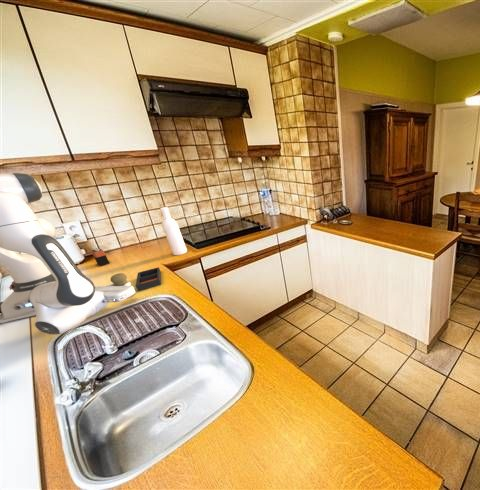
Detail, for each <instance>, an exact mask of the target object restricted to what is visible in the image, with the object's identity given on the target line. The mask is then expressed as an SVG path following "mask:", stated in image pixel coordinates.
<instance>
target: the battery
mask: <svg viewBox="0 0 480 490" xmlns="http://www.w3.org/2000/svg"><path fill="white" fill-rule="evenodd" d="M90 253H91V254H92V256H93V258H94V260H95V262H96V264H97V265H99V266H100V267H103V266H106V265H108V264H110V261H109V259H108V256H107V255H106V253H105V251H104V249H102V248H99V247H94V248H93V249H91V250H90Z"/></svg>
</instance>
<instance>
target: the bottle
mask: <svg viewBox="0 0 480 490" xmlns="http://www.w3.org/2000/svg"><path fill="white" fill-rule="evenodd" d="M159 208H160V212H161V215H162V217H163V220H162V222H161V227H162V230H163V232H164V234H165V237H166V240H167V242H168V245H169V248H170V250H171V251H170V252H171V253H172V255H173V256H180V255H183V254H186V253H187V252H188V248H187V246H186V244H185V240H184V237H183V235H182V233H181V230H180V227H179V223H178V222H177V221H176V220H175V219H174V218H172V216H171V214H170V210H169V208H168V206H164V207H159Z"/></svg>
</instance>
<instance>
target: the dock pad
mask: <svg viewBox="0 0 480 490" xmlns="http://www.w3.org/2000/svg"><path fill="white" fill-rule="evenodd" d="M161 285H162V270H161V269H160V267H159V266H158V267H154V268H150V269H145V270H143V271H139V272H137V275H136V281H135V288H136V290H137V292H140V291H144V290H147V289H152V288H154V287H158V286H161Z"/></svg>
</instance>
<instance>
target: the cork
mask: <svg viewBox="0 0 480 490" xmlns="http://www.w3.org/2000/svg"><path fill="white" fill-rule="evenodd" d="M127 279H128V277H127V274H125V273H123V272H119V273H116V274H113V275H111V277H110V282H111V284H113V283H114V285H115V286H124V283H126V282H128V280H127ZM136 294H137V293H136V292H135V294H134V295H132V296H130V297H129V298H127V299H126V300H128V299H131V298H133V297H134V296H136Z"/></svg>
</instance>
